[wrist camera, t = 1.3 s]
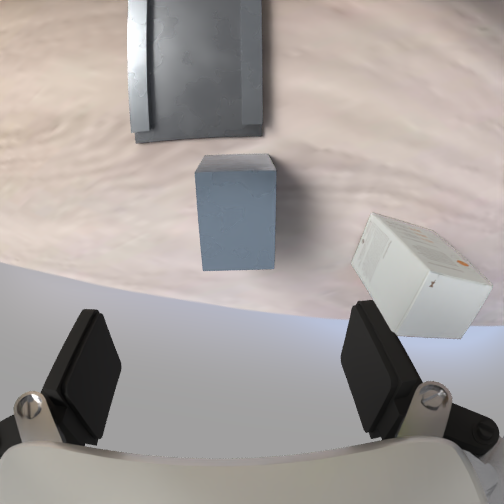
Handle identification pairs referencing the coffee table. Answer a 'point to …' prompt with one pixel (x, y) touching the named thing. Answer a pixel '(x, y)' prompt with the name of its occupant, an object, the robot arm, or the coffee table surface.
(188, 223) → the coffee table surface
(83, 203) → the coffee table surface
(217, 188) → the block
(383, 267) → the small box
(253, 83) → the dock
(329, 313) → the coffee table surface
